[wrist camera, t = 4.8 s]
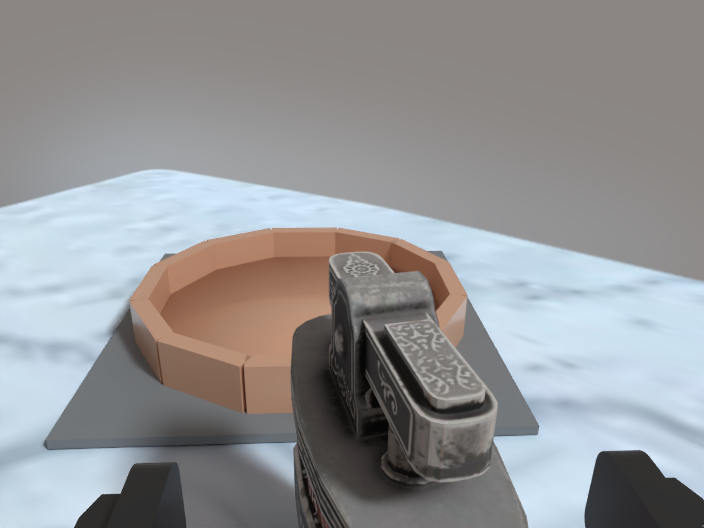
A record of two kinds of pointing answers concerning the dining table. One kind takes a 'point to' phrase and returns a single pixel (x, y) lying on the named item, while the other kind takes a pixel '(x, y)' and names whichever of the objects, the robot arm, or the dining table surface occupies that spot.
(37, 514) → the dining table surface
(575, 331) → the dining table surface
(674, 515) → the robot arm
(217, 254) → the dish
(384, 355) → the lighter
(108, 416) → the mat
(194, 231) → the dining table surface
